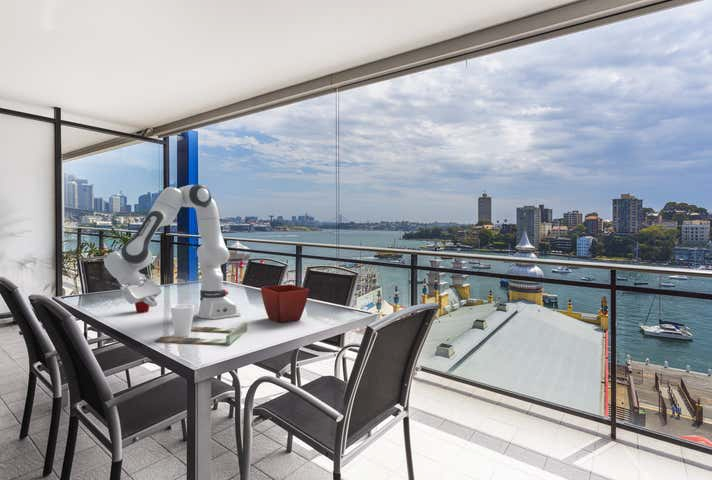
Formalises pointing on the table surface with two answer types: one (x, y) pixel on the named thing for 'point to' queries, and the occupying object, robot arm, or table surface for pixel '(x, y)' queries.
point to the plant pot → (284, 302)
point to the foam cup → (182, 319)
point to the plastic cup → (141, 307)
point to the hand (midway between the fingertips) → (154, 305)
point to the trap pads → (198, 338)
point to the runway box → (230, 338)
